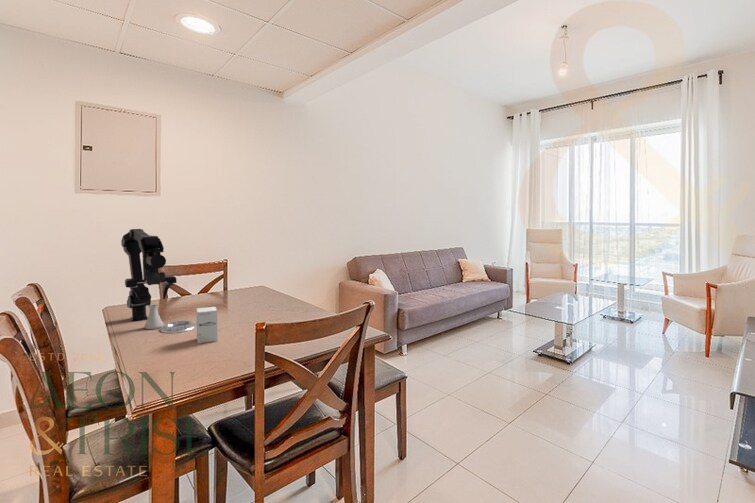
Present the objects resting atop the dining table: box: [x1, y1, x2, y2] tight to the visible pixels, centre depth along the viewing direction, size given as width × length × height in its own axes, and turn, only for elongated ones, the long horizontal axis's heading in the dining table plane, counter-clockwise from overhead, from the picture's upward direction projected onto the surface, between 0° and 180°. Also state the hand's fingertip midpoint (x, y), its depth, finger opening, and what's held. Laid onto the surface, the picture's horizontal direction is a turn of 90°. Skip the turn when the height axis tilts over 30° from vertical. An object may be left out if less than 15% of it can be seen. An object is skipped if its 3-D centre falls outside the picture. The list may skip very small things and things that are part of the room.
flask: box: [143, 303, 165, 330], centre depth 165 cm, size 7×7×10 cm
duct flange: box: [159, 319, 197, 334], centre depth 164 cm, size 14×14×2 cm
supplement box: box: [195, 306, 219, 344], centre depth 149 cm, size 7×7×13 cm
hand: (152, 300), depth 163 cm, fingers open, 9 cm apart
